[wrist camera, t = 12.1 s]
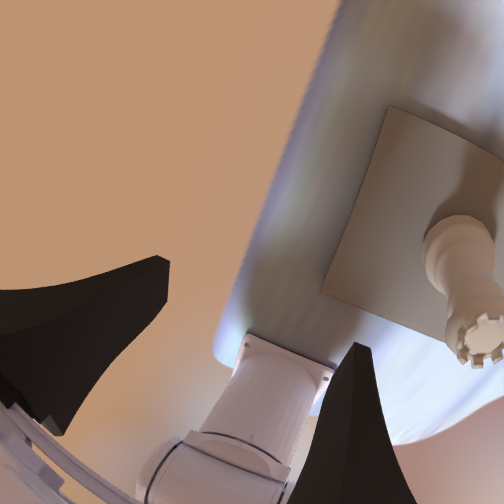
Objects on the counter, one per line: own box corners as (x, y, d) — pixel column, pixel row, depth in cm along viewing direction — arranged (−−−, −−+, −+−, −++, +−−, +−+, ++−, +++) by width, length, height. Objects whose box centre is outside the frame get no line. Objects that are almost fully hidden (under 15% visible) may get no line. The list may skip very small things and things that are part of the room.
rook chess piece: (471, 196, 14) (522, 270, 8) (500, 260, 15) (543, 354, 8) (406, 237, 17) (411, 330, 10) (440, 294, 17) (452, 397, 11)
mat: (478, 347, 18) (480, 356, 18) (322, 283, 21) (319, 291, 20) (566, 204, 12) (573, 210, 11) (388, 105, 15) (389, 105, 14)
